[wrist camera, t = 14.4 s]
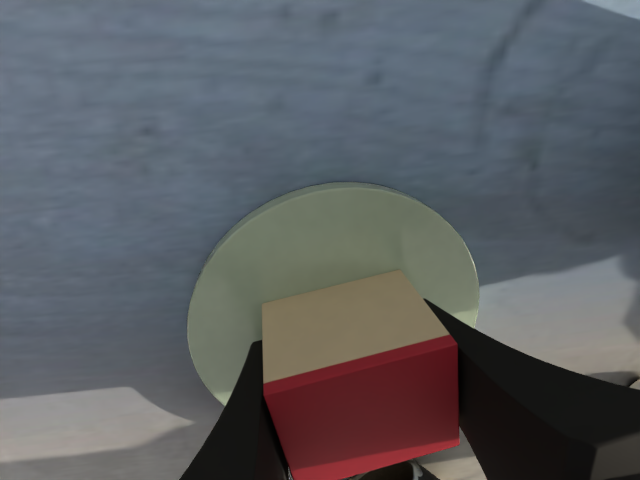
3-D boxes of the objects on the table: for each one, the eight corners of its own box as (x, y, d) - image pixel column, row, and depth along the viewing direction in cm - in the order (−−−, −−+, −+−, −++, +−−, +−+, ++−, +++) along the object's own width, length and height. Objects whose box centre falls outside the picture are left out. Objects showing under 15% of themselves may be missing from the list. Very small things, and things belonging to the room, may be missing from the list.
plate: (238, 446, 16) (237, 463, 15) (141, 223, 11) (134, 232, 11) (468, 383, 17) (478, 396, 16) (468, 149, 12) (482, 153, 11)
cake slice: (286, 386, 14) (297, 492, 10) (261, 302, 12) (263, 395, 9) (408, 353, 14) (460, 445, 11) (400, 268, 13) (458, 343, 9)
